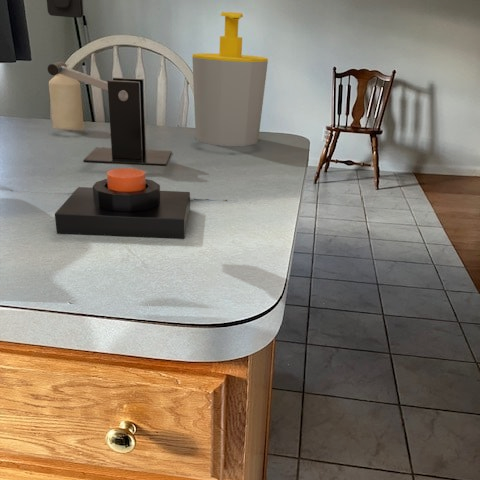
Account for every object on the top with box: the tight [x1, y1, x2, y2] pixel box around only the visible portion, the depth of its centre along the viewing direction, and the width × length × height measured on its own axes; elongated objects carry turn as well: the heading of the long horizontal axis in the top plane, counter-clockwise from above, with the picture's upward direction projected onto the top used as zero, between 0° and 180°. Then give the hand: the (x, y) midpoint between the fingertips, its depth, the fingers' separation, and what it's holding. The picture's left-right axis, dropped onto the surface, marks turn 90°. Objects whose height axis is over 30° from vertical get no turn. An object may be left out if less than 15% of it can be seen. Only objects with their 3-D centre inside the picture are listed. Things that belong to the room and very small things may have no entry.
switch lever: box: [47, 61, 108, 92], centre depth 78 cm, size 12×5×2 cm, turn 91°
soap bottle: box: [191, 11, 269, 147], centre depth 95 cm, size 13×13×21 cm
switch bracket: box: [82, 77, 172, 167], centre depth 81 cm, size 12×9×12 cm
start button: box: [106, 167, 146, 192], centre depth 58 cm, size 4×4×2 cm
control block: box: [54, 178, 191, 240], centre depth 59 cm, size 13×10×4 cm
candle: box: [48, 74, 85, 131], centre depth 100 cm, size 6×6×10 cm
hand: (66, 16), depth 56 cm, fingers closed
